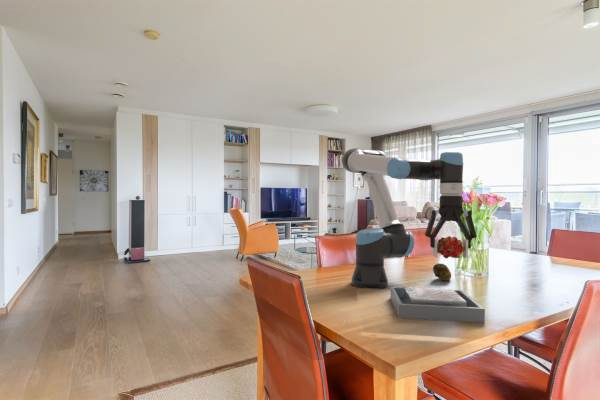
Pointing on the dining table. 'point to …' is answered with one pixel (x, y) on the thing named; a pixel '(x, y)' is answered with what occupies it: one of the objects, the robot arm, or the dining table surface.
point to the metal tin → (432, 297)
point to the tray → (438, 309)
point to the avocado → (442, 271)
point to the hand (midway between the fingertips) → (450, 257)
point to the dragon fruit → (450, 247)
